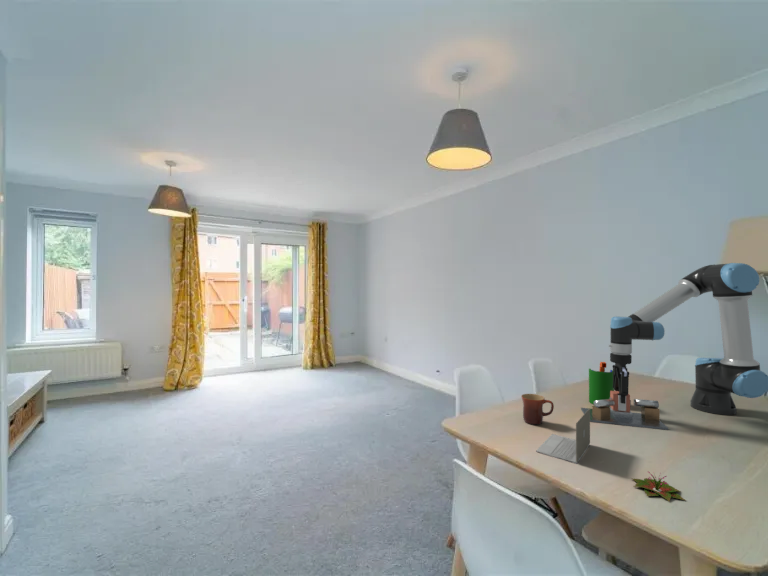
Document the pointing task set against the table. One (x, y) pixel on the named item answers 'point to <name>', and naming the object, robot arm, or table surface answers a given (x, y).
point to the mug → (534, 408)
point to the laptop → (569, 442)
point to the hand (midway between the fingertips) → (620, 408)
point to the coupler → (615, 397)
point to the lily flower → (657, 488)
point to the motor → (600, 384)
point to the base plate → (635, 416)
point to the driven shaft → (602, 409)
